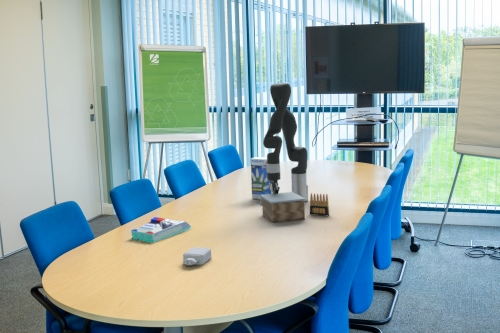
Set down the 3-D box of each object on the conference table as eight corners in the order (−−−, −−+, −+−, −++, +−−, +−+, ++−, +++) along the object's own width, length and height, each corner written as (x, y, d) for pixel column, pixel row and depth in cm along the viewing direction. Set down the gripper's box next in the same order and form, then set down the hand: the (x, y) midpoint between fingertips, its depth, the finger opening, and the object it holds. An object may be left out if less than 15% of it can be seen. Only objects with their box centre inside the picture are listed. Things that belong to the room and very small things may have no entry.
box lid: (292, 202, 328) (292, 191, 327) (305, 209, 309) (305, 198, 308) (260, 205, 322) (260, 195, 321) (271, 213, 304) (271, 202, 303)
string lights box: (251, 198, 365) (250, 158, 361) (257, 196, 372) (255, 156, 368) (270, 200, 359) (269, 159, 355) (275, 197, 366) (274, 157, 362)
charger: (177, 268, 239) (192, 257, 253) (197, 270, 236) (211, 258, 250) (176, 257, 238) (191, 247, 252) (196, 259, 235) (211, 248, 249)
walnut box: (293, 212, 327) (292, 194, 325) (304, 219, 310) (304, 201, 308) (262, 215, 322) (262, 197, 320) (273, 222, 305) (272, 204, 303)
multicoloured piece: (127, 240, 285) (126, 222, 283) (168, 225, 309) (167, 209, 308) (153, 244, 275) (151, 226, 274) (192, 229, 300) (191, 212, 299)
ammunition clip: (329, 215, 317) (328, 193, 315) (328, 215, 315) (327, 194, 313) (310, 213, 322) (310, 192, 320) (309, 214, 320) (309, 193, 318)
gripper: (283, 172, 320) (284, 203, 323) (276, 169, 333) (276, 198, 335) (270, 173, 318) (271, 204, 321) (263, 170, 331) (264, 199, 333)
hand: (274, 201), depth 328 cm, fingers closed
